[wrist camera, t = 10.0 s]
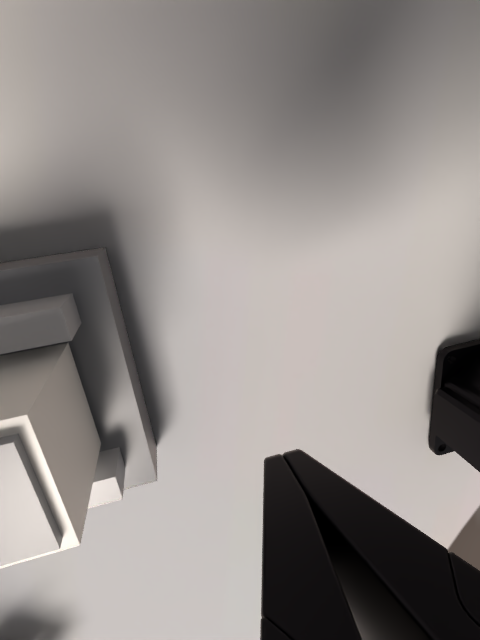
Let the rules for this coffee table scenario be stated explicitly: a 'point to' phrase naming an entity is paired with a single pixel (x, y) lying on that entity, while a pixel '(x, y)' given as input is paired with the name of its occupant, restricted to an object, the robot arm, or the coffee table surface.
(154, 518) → the coffee table surface
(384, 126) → the coffee table surface
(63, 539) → the toggle
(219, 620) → the coffee table surface
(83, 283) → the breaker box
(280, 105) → the coffee table surface
